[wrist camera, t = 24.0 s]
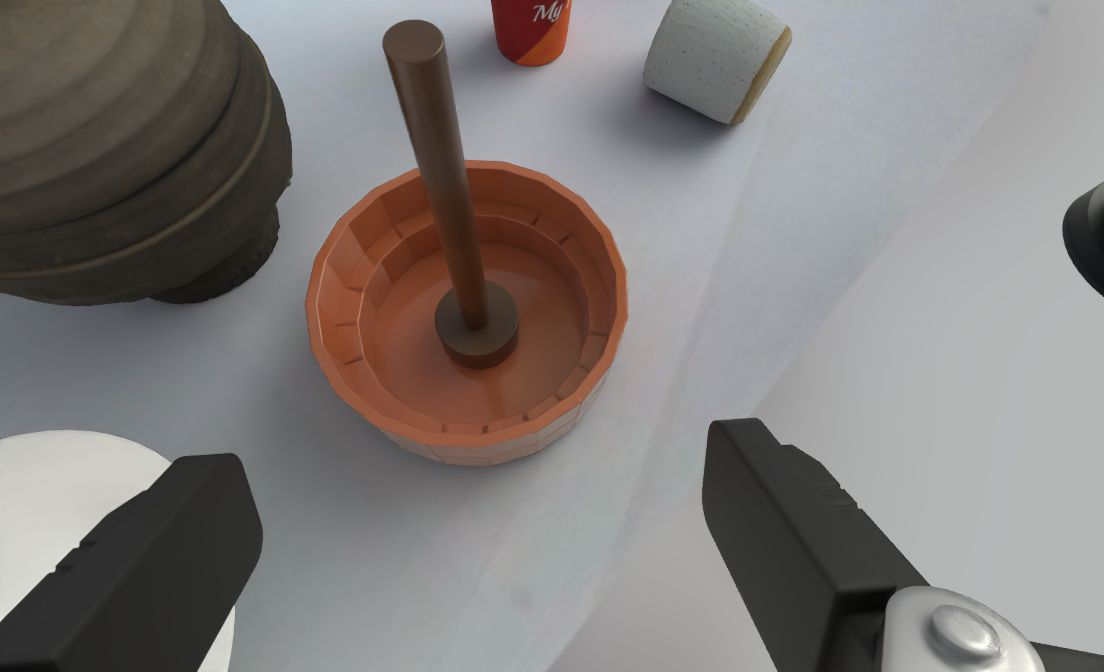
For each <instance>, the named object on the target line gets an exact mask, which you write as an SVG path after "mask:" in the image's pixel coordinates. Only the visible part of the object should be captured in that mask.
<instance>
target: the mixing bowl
mask: <svg viewBox="0 0 1104 672" xmlns="http://www.w3.org/2000/svg"><path fill="white" fill-rule="evenodd" d="M465 165H466V171H467V177H468V183H469V189H470V195H471V201H472V207H473V213H474V219H475V224H476V230H477V236H478V242H479V248H480V254H481V260H482V266H483V272H484V277H485V280H486V281H490V282H493V283H496V284H498V285H500V286H502V287H503V288H504V289H506V290H507V291H508V292H509V293H510V294H511V295H512V297H513V298H514V300H515V302H516V304H517V307H518V312H519V328H520V334H519V340H518V343H517V346H516V348H515V350H514V351H513V353H512V354H511V355H510V356H509V357H508V358H507V359H506V360H505V361H503V362H502V363H500V364H498V365H496V366H494V367H491V368H486V369H472V368H467V367H464V366H462V365H460V364H458V363H456V362H455V361H454V360H453V359H451V358H450V356H449V355H448V354H447V353H446V351H445V349H444V347H443V345H442V342H441V340H440V338H439V335H438V333H437V330H436V327H435V312H436V309H437V306H438V304H439V302H440V300H441V299H442V297H443V296H444V295H445V294H446V293H447V292H448V291H449V290H450V289H451V288H453V284H452V280H451V277H450V274H449V270H448V267H447V263H446V260H445V257H444V253H443V250H442V246H441V243H440V240H439V236H438V233H437V229H436V226H435V223H434V219H433V216H432V212H431V209H430V206H429V202H428V199H427V195H426V192H425V189H424V185H423V182H422V179H421V175H420V172H419V168H416V169H413V170H411V171H409V172H407V173H405V174H403V175H401V176H399V177H397V178H395V179H393V180H391V181H388V182H386V183H384V184H382V185H380V186H378V187H376V188H374V190H372V191H370V192H369V193H368V194H367V195H366V196H365V197H364V198H363V199H361V200H360V201H359V202H358V203H357V204H356V205H355V206H354V207H352V208H351V209H350V210H349V211H348V212H347V213H346V214H345V215H343V216H342V217H341V218H340V219H339V220H338V222H337V223H336V225H335V227H334V228H333V230H332V231H331V233H330V235H329V236H328V238H327V240H326V241H325V243H324V245H323V246H322V248H321V249H320V251H319V253H318V254H317V256H316V258H315V261H314V265H313V270H312V274H311V279H310V283H309V288H308V292H307V296H306V301H305V308H306V315H307V323H308V330H309V337H310V345H311V350H312V353H313V354H314V356H315V358H316V360H317V362H318V363H319V365H320V367H321V369H322V371H323V372H324V374H325V376H326V378H327V380H328V381H329V383H330V385H331V387H332V389H333V390H334V392H335V393H336V394H337V395H338V396H339V397H340V398H341V399H343V400H344V401H345V402H346V403H347V404H349V405H350V406H351V407H352V408H353V409H355V410H356V411H357V412H358V413H359V414H360V415H362V416H363V417H364V418H365V419H366V420H368V421H369V422H370V423H371V424H372V425H374V426H375V427H376V428H377V429H379V430H380V431H381V432H382V433H384V434H385V435H386V436H388V437H389V438H390V439H391V440H393V441H394V442H395V443H396V444H398V445H399V446H400V447H402V448H403V449H405V450H408V451H410V452H413V453H416V454H418V455H421V456H424V457H426V458H429V459H432V460H434V461H437V462H440V463H442V464H447V465H475V466H491V465H492V466H494V465H498V464H501V463H504V462H508V461H511V460H515V459H518V458H521V457H525V456H528V455H532V454H535V453H536V452H539V451H540V450H541V449H543V448H544V447H546V446H547V445H549V444H550V443H552V442H553V441H555V440H556V439H558V438H559V437H561V436H562V435H563V434H565V433H566V432H568V431H569V430H571V429H572V428H573V427H574V426H575V425H576V424H577V422H578V421H579V420H580V418H581V417H582V416H583V414H584V413H585V412H586V410H587V409H588V408H589V407H590V405H591V404H592V403H593V401H594V400H595V399H596V397H597V396H598V394H599V393H600V391H601V388H602V386H603V384H604V381H605V379H606V377H607V375H608V372H609V370H610V368H611V366H612V363H613V361H614V358H615V355H616V352H617V349H618V346H619V343H620V340H621V337H622V334H623V331H624V328H625V325H626V322H627V319H628V294H627V272H626V269H625V266H624V264H623V261H622V259H621V256H620V253H619V251H618V248H617V246H616V243H615V241H614V238H613V236H612V233H611V232H610V230H609V229H608V228H607V226H606V225H605V224H604V223H603V222H602V220H601V219H600V218H599V217H598V216H597V214H596V213H595V212H594V211H593V210H592V208H591V207H590V206H589V205H588V204H587V202H586V201H585V200H584V199H583V198H582V197H580V196H578V195H577V194H575V193H574V192H572V191H571V190H569V189H568V188H566V187H565V186H563V185H562V184H560V183H558V182H557V181H555V180H554V179H552V178H551V177H549V176H546V175H545V174H542V173H539V172H536V171H533V170H529V169H526V168H523V167H520V166H517V165H513V164H510V163H507V162H500V161H479V160H465Z"/></svg>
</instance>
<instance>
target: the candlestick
mask: <svg viewBox="0 0 1104 672" xmlns="http://www.w3.org/2000/svg"><path fill="white" fill-rule="evenodd" d="M171 464H172V463H171V462H169V461H168V460H167V459H165V458H164V457H162V456H161V455H159V454H157V453H156V452H154V451H152V450H150V449H148V448H146V447H145V446H142V445H140V444H138V443H135V442H133V441H130V440H127V439H124V438H121V437H117V436H114V435H109V434H105V433H99V432H92V431H82V430H52V431H41V432H33V433H27V434H21V435H16V436H11V437H7V438H3V439H0V621H1V620H2V619H3V618H4V617H5V616H6V615H7V614H8V613H9V612H10V611H11V610H12V609H13V608H14V607H15V606H16V605H17V604H18V603H19V602H20V601H21V600H22V599H23V598H24V597H25V596H26V595H27V594H28V593H29V592H30V591H31V590H32V589H33V588H34V587H35V586H36V585H37V584H38V583H39V582H40V581H41V580H42V579H43V578H44V577H45V576H46V575H47V574H48V573H50V572H54V571H55V569H56V567H55V566H56V565H57V564H58V563H59V562H60V561H61V560H62V559H63V558H64V557H65V556H66V555H67V554H68V553H69V552H70V551H71V550H72V549H73V548H78V547H79V542H80V541H81V540H82V539H83V538H84V537H85V536H86V535H87V534H88V533H89V532H90V531H91V530H92V529H93V528H94V527H95V526H96V525H97V524H98V523H99V522H100V521H101V520H102V519H103V518H104V517H105V516H106V515H107V514H108V513H110V512H111V511H113V510H114V509H116V508H117V507H119V506H121V505H122V504H124V503H125V502H127V501H128V500H130V499H131V498H133V497H134V496H136V495H137V494H139V493H140V492H142V491H143V490H147V489H148V488H149V487H150V486H151V485H152V484H153V483H154V482H155V481H156V480H157V479H158V478H159V477H160V476H161V475H162V474H163V473H164V471H165V470H166V469H167V468H168V467H169V466H170V465H171ZM234 623H235V605H234V606H233V608H232V610H231V612H230V614H229V615H228V617H227V619H226V621H225V623H224V624H223V626H222V628H221V630H220V632H219V633H218V635H217V637H216V639H215V641H214V642H213V644H212V646H211V648H210V650H209V651H208V653H207V655H206V657H205V659H204V661H203V662H202V664H201V666H200V668H199V670H198V671H197V672H227V671H228V667H229V662H230V656H231V651H232V643H233V635H234Z"/></svg>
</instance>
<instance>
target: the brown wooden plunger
mask: <svg viewBox="0 0 1104 672" xmlns="http://www.w3.org/2000/svg"><path fill="white" fill-rule="evenodd" d="M382 45H383V49H384V53H385V56H386V60H387V63H388V66H389V70H390V73H391V77H392V80H393V83H394V87H395V90H396V94H397V97H398V100H399V104H400V107H401V111H402V114H403V117H404V121H405V124H406V128H407V131H408V134H409V138H410V141H411V145H412V148H413V151H414V155H415V158H416V162H417V165H418V168H419V172H420V175H421V179H422V182H423V185H424V189H425V192H426V195H427V199H428V202H429V206H430V209H431V212H432V216H433V219H434V223H435V226H436V229H437V233H438V236H439V240H440V243H441V246H442V250H443V253H444V257H445V260H446V263H447V267H448V270H449V274H450V277H451V280H452V284H453V288H451V289H450V290H449V291H448V292H447V293H446V294H445V295H444V296H443V297H442V299H441V300H440V302H439V304H438V306H437V309H436V312H435V327H436V330H437V333H438V335H439V338H440V340H441V342H442V345H443V347H444V349H445V351H446V353H447V354H448V355H449V356H450V358H451V359H453V360H454V361H455V362H456V363H458V364H460V365H462V366H464V367H467V368H472V369H486V368H491V367H494V366H496V365H498V364H500V363H502V362H503V361H505V360H506V359H507V358H508V357H509V356H510V355H511V354H512V353H513V351H514V350H515V348H516V346H517V343H518V340H519V334H520V328H519V312H518V307H517V304H516V302H515V300H514V298H513V297H512V295H511V294H510V293H509V292H508V291H507V290H506V289H504V288H503V287H502V286H500V285H498V284H496V283H493V282H490V281H486V280H485V277H484V272H483V266H482V260H481V254H480V248H479V242H478V236H477V230H476V224H475V219H474V213H473V207H472V201H471V195H470V189H469V183H468V177H467V171H466V165H465V160H464V154H463V148H462V142H461V136H460V130H459V124H458V118H457V112H456V107H455V101H454V95H453V89H452V83H451V77H450V71H449V65H448V59H447V54H446V48H445V42H444V37H443V34H442V33H441V31H440V30H439V29H438V28H437V27H436V26H435V25H433V24H431V23H429V22H427V21H423V20H406V21H402V22H399V23H397V24H395V25H393V26H392V27H391V28H389V29H388V30H387V32H386V33H385V35H384V37H383V43H382Z"/></svg>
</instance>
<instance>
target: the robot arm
mask: <svg viewBox="0 0 1104 672" xmlns="http://www.w3.org/2000/svg"><path fill="white" fill-rule="evenodd" d="M702 504H703V510H704V516H705V520H706V523H707V526H708V528H709V531H710V533H711V535H712V537H713V539H714V541H715V543H716V545H717V547H718V549H719V551H720V553H721V556H722V557H723V560H724V562H725V564H726V566H727V568H728V570H729V572H730V574H731V576H732V578H733V580H734V582H735V584H736V587H737V588H738V591H739V592H740V594H741V597H742V599H743V601H744V603H745V605H746V607H747V609H748V611H749V613H750V616H751V618H752V619H753V622H754V624H755V626H756V628H757V630H758V632H759V634H760V636H761V638H762V640H763V642H764V644H765V646H766V649H767V651H768V652H769V654H770V657H771V659H772V661H773V663H774V665H775V667H776V669H777V671H778V672H1104V655H1098V654H1093V653H1088V652H1083V651H1078V650H1072V649H1067V648H1061V647H1057V646H1051V645H1046V644H1041V643H1036V642H1031V641H1028V640H1027V639H1026V638H1025V637H1024V636H1023V635H1022V634H1021V632H1020V631H1019V630H1018V629H1016V628H1015V627H1014V626H1013V625H1012V624H1011V623H1010V622H1008V621H1007V620H1006V619H1004V618H1003V617H1002V616H1000V615H999V614H997V613H996V612H994V611H993V610H991V609H990V608H988V607H986V606H985V605H983V604H981V603H979V602H977V601H975V600H973V599H971V598H969V597H967V596H964V595H962V594H959V593H956V592H953V591H950V590H947V589H942V588H937V587H931V586H930V584H929V583H928V582H927V581H926V580H925V579H924V578H923V577H922V575H920V573H919V572H918V571H917V570H916V569H915V568H914V567H913V565H912V564H911V563H910V562H909V561H908V560H907V559H906V558H905V557H904V555H903V554H902V553H901V552H900V551H899V550H898V549H897V548H896V546H895V545H894V544H893V543H892V542H891V541H890V540H889V539H888V537H887V536H886V535H885V534H884V533H883V532H882V531H881V530H880V529H879V527H877V525H876V524H875V523H874V522H873V521H872V520H871V518H870V517H869V516H868V515H867V514H866V513H865V512H864V511H863V510H862V509H858V507H857V503H856V502H855V501H854V500H853V498H852V497H851V496H850V495H849V494H848V493H847V492H846V491H845V489H841V488H840V484H839V483H838V482H837V480H836V479H835V478H834V477H833V476H832V475H831V474H830V473H829V472H828V471H827V469H826V468H825V467H824V466H823V465H822V464H821V463H820V462H819V461H817V460H816V459H814V458H812V457H811V456H809V455H808V454H806V453H805V452H803V451H801V450H800V449H798V448H797V447H795V446H793V445H781V444H780V443H779V442H778V441H777V439H776V438H775V437H774V436H773V435H772V433H771V432H770V431H769V430H768V429H767V427H766V426H765V425H764V424H763V422H762V421H761V420H759V419H758V418H745V419H730V420H716V421H713V422H712V423H711V424H710V426H709V430H708V438H707V448H706V458H705V467H704V477H703V488H702ZM262 543H263V530H262V524H261V521H260V518H259V515H258V512H257V508H256V505H255V502H254V499H253V496H252V493H251V490H250V486H249V483H248V480H247V477H246V474H245V471H244V468H243V465H242V462H241V460H240V459H239V458H238V456H236V455H235V454H233V453H224V454H210V455H195V456H183V457H180V458H178V459H176V460H175V461H174V462H173V463H172V464H171V465H170V466H169V467H168V468H167V469H166V470H165V471H164V473H163V474H162V475H161V476H160V477H159V478H158V479H157V480H156V481H155V482H154V483H153V484H152V485H151V486H150V487H149V488H148V489H147V490H143V491H142V492H140V493H139V494H137V495H136V496H134V497H133V498H131V499H130V500H128V501H127V502H125V503H124V504H122V505H121V506H119V507H117V508H116V509H114V510H113V511H111V512H110V513H108V514H107V515H106V516H105V517H104V518H103V519H102V520H101V521H100V522H99V523H98V524H97V525H96V526H95V527H94V528H93V529H92V530H91V531H90V532H89V533H88V534H87V535H86V536H85V537H84V538H83V539H82V540H81V541H80V542H79V547H78V548H73V549H72V550H71V551H70V552H69V553H68V554H67V555H66V556H65V557H64V558H63V559H62V560H61V561H60V562H59V563H58V564H57V565H56V566H55V567H56V569H55V571H54V572H50V573H48V574H47V575H46V576H45V577H44V578H43V579H42V580H41V581H40V582H39V583H38V584H37V585H36V586H35V587H34V588H33V589H32V590H31V591H30V592H29V593H28V594H27V595H26V596H25V597H24V598H23V599H22V600H21V601H20V602H19V603H18V604H17V605H16V606H15V607H14V608H13V609H12V610H11V611H10V612H9V613H8V614H7V615H6V616H5V617H4V618H3V619H2V620H1V621H0V672H197V671H198V670H199V668H200V666H201V664H202V662H203V661H204V659H205V657H206V655H207V653H208V651H209V650H210V648H211V646H212V644H213V642H214V641H215V639H216V637H217V635H218V633H219V632H220V630H221V628H222V626H223V624H224V623H225V621H226V619H227V617H228V615H229V614H230V612H231V610H232V608H233V606H234V605H235V603H236V601H237V599H238V597H239V596H240V594H241V592H242V590H243V588H244V587H245V585H246V583H247V581H248V579H249V578H250V576H251V574H252V572H253V570H254V569H255V567H256V565H257V563H258V560H259V557H260V554H261V550H262Z"/></svg>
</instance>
